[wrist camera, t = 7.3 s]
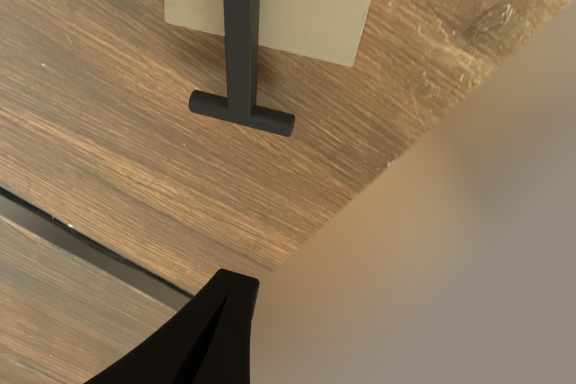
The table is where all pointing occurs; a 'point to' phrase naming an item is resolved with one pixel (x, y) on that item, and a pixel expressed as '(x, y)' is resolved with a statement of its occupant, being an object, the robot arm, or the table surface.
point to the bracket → (287, 25)
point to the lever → (241, 76)
